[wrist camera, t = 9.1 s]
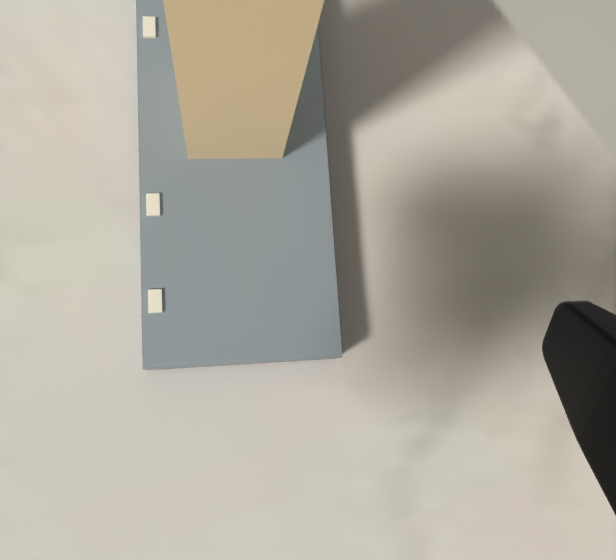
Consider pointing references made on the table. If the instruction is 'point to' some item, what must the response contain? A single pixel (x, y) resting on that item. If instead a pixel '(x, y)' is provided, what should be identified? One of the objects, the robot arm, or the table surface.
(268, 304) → the grey slab with post
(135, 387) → the table surface
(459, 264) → the table surface
